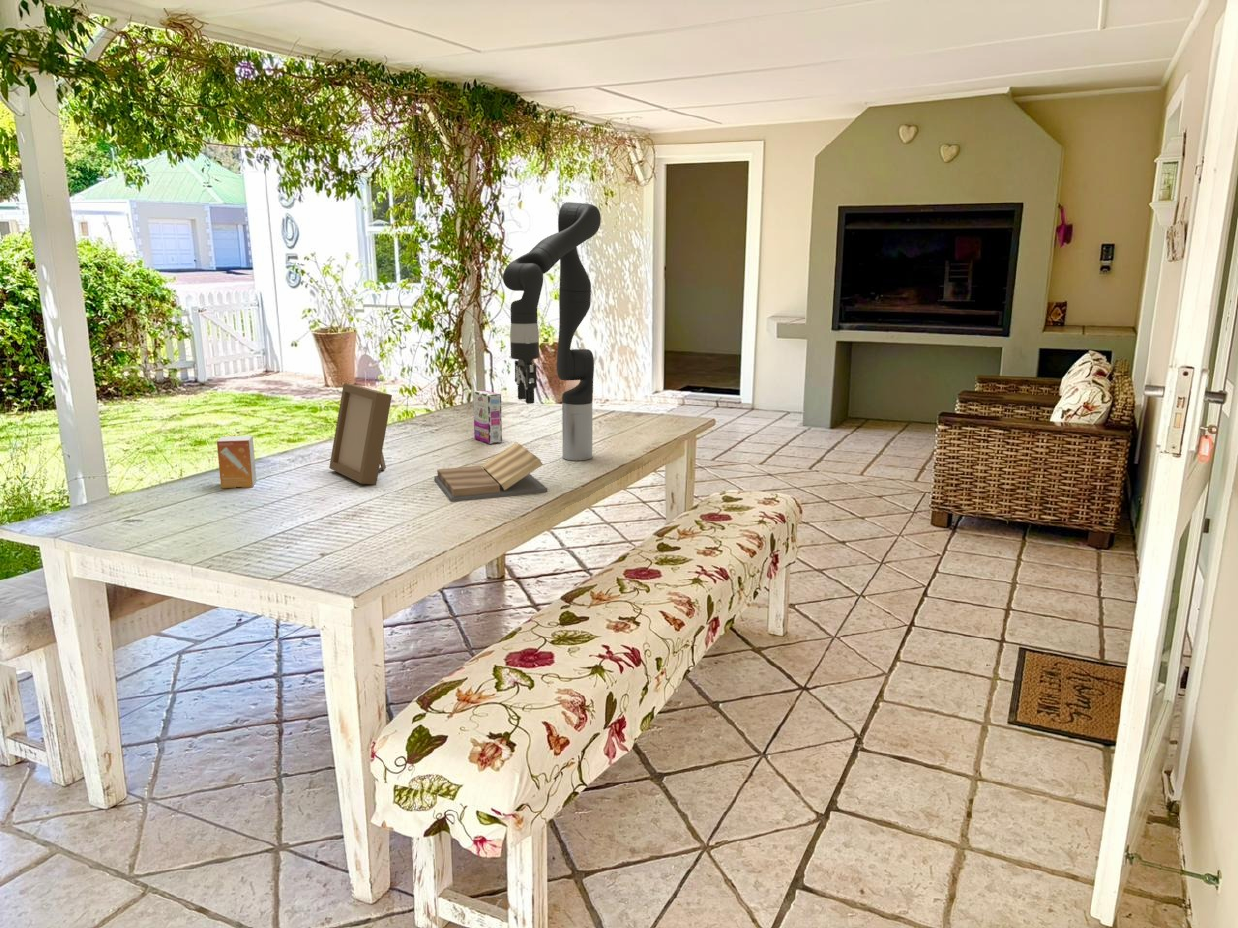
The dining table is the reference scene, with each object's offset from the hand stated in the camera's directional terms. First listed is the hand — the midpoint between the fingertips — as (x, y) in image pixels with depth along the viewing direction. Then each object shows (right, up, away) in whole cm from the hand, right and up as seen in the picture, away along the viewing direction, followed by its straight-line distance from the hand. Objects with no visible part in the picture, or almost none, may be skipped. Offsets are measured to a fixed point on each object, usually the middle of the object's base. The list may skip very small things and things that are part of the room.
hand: (526, 401), depth 233 cm
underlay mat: (-10, -23, +2) cm, 25 cm away
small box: (-77, -23, 0) cm, 81 cm away
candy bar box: (-19, -9, +57) cm, 61 cm away
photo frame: (-45, -20, +12) cm, 51 cm away
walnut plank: (-16, -23, -1) cm, 28 cm away
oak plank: (-4, -18, +3) cm, 18 cm away
